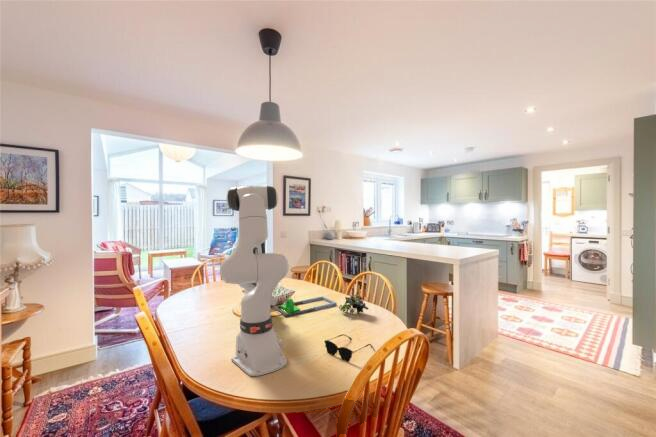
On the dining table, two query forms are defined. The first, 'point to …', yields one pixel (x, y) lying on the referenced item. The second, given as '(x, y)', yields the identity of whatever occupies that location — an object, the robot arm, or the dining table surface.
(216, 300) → the dining table surface
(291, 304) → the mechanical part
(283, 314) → the seat frame
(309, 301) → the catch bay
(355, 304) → the green leafy plant
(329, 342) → the sunglasses
